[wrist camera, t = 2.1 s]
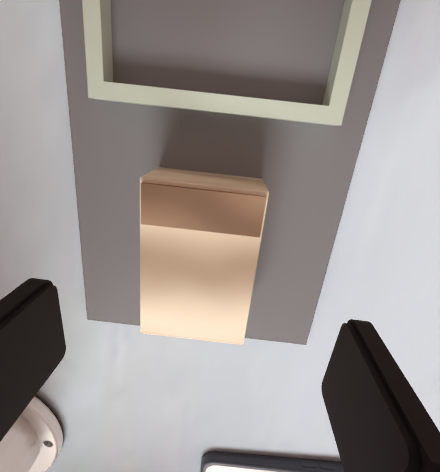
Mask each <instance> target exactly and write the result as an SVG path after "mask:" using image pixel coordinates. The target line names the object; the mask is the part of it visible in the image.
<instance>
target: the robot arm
mask: <svg viewBox="0 0 440 472" xmlns="http://www.w3.org/2000/svg"><path fill="white" fill-rule="evenodd" d="M65 351H66V345H65V338H64V332H63V325H62V319H61V312H60V305H59V299H58V292H57V288H56V286H54V285H53V284H52V282H51V281H49V280H43V279H35V278H31V279H28V280H27V281H25V282H24V283H23V284H21V285H20V286H19V287H17V288H16V289H15V290H13V291H12V292H11V293H9V294H8V295H7V296H5V297H4V298H3V299H1V300H0V472H44V471H46V470H47V469H48V468H49V467H50V466H52V465H53V463H54V461H55V460H56V458H57V456H58V454H59V453H60V450H61V448H62V445H63V434H62V430H61V427H60V425H59V423H58V421H57V419H56V417H55V416H54V414H53V413H52V412H51V410H50V409H49V408H48V407H47V406H46V405H45V404H44V403H43V402H42V401H40V400H39V399H38V398H36V397H35V395H36V394H37V392H38V391H39V390H40V388H41V387H42V386H43V384H44V383H45V382H46V380H47V379H48V377H49V376H50V375H51V373H52V372H53V371H54V369H55V368H56V367H57V365H58V364H59V363H60V361H61V360H62V359H63V357H64V355H65ZM322 395H323V399H324V402H325V406H326V409H327V413H328V416H329V420H330V423H331V427H332V430H333V434H334V437H335V441H336V444H337V447H338V451H339V454H340V458H341V461H342V465H343V468H344V472H440V432H439V430H438V429H437V427H436V425H435V424H434V422H433V421H432V419H431V417H430V416H429V414H428V413H427V411H426V409H425V408H424V406H423V405H422V403H421V401H420V400H419V398H418V397H417V395H416V393H415V392H414V390H413V389H412V387H411V385H410V384H409V382H408V381H407V379H406V377H405V376H404V374H403V373H402V371H401V370H400V368H399V366H398V365H397V363H396V362H395V360H394V358H393V357H392V355H391V354H390V352H389V350H388V349H387V347H386V346H385V344H384V342H383V341H382V339H381V338H380V336H379V334H378V333H377V331H376V330H375V328H374V326H373V325H372V324H371V323H370V322H368V321H360V320H352V319H351V320H349V321H348V323H343V324H342V326H341V329H340V332H339V335H338V338H337V341H336V344H335V346H334V349H333V352H332V355H331V358H330V361H329V364H328V367H327V370H326V373H325V376H324V379H323V382H322Z"/></svg>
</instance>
